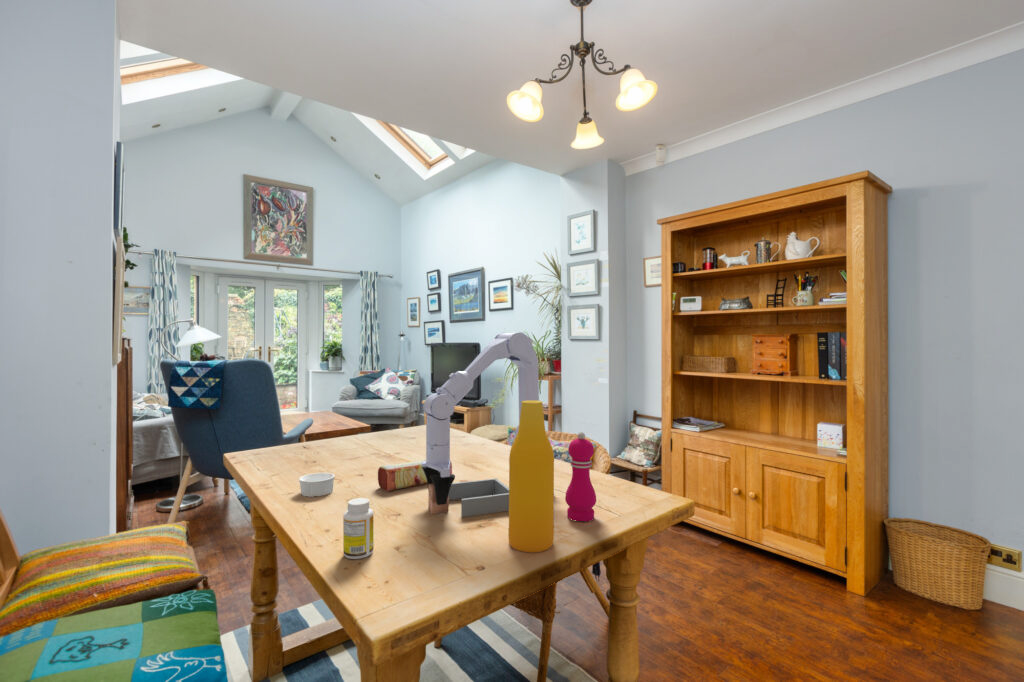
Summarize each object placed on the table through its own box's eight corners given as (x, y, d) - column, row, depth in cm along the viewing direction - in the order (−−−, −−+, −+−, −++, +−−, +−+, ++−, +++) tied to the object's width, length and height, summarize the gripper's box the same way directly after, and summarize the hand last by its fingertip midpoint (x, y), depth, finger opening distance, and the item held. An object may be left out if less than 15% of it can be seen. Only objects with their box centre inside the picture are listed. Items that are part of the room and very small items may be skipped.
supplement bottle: (363, 545, 97) (363, 494, 97) (379, 553, 93) (379, 500, 93) (337, 554, 93) (337, 501, 93) (353, 563, 89) (353, 508, 89)
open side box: (496, 493, 130) (496, 478, 130) (515, 509, 118) (515, 493, 118) (447, 499, 125) (447, 483, 125) (462, 517, 113) (462, 499, 113)
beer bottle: (540, 557, 92) (541, 405, 92) (499, 546, 97) (500, 402, 97) (561, 540, 100) (562, 400, 100) (523, 531, 105) (524, 397, 105)
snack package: (442, 475, 148) (442, 453, 148) (453, 480, 143) (454, 457, 143) (376, 488, 135) (376, 464, 135) (386, 494, 130) (386, 469, 130)
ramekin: (291, 495, 128) (291, 479, 128) (316, 486, 136) (316, 470, 136) (317, 500, 124) (317, 483, 124) (341, 490, 132) (341, 474, 132)
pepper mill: (598, 513, 115) (599, 430, 115) (593, 524, 109) (594, 436, 108) (568, 510, 118) (569, 428, 118) (562, 520, 111) (562, 433, 111)
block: (444, 506, 120) (444, 482, 120) (448, 511, 116) (448, 486, 116) (428, 508, 118) (428, 484, 118) (432, 513, 115) (432, 488, 115)
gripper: (415, 438, 122) (415, 492, 122) (428, 451, 109) (428, 511, 109) (442, 436, 125) (442, 489, 125) (458, 448, 112) (458, 507, 112)
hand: (437, 499), depth 117 cm, fingers open, 7 cm apart
